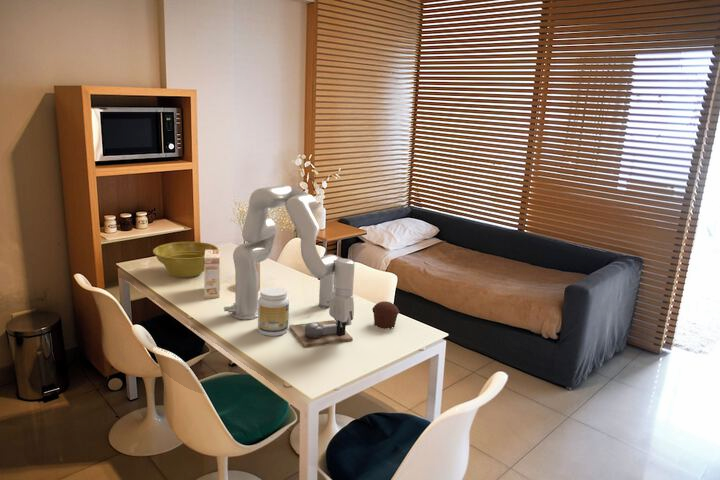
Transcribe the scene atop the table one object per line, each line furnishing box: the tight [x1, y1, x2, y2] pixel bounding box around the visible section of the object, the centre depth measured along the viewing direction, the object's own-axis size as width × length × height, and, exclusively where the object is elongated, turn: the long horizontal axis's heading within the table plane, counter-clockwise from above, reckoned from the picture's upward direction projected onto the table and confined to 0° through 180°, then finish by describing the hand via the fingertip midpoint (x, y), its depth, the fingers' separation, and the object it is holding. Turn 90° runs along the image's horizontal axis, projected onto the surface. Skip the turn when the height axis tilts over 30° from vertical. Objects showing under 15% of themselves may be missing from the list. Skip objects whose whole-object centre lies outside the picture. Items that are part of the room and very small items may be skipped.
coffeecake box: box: [203, 249, 221, 299], centre depth 249 cm, size 15×7×20 cm, turn 14°
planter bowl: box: [152, 241, 219, 278], centre depth 274 cm, size 32×32×13 cm
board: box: [288, 319, 353, 348], centre depth 212 cm, size 20×19×1 cm
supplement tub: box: [257, 286, 290, 337], centre depth 211 cm, size 12×12×17 cm
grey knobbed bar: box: [305, 322, 337, 339], centre depth 209 cm, size 16×7×4 cm, turn 115°
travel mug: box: [318, 274, 334, 309], centre depth 241 cm, size 6×7×20 cm
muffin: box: [372, 300, 400, 330], centre depth 225 cm, size 12×11×10 cm
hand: (340, 335), depth 207 cm, fingers closed
